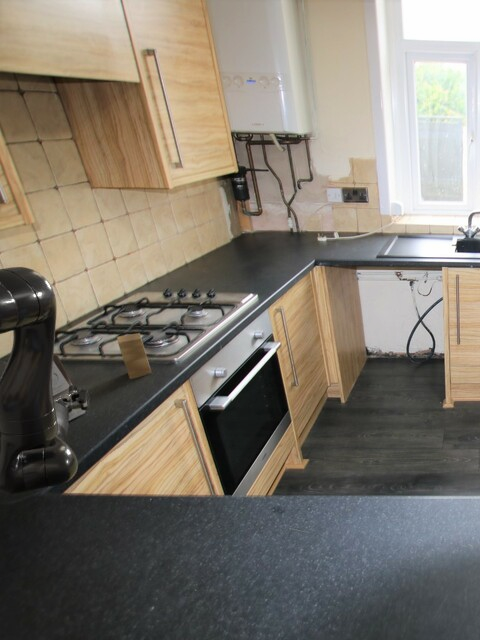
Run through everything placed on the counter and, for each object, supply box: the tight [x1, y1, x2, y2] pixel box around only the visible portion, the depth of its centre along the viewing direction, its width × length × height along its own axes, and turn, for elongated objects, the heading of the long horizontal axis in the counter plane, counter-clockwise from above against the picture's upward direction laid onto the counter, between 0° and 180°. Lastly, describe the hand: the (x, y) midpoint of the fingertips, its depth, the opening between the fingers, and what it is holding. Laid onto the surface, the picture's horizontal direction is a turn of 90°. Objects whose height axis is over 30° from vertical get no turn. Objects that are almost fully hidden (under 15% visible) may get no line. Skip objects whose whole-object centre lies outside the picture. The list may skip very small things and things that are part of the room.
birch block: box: [116, 332, 152, 380], centre depth 131 cm, size 5×5×12 cm
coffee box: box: [2, 353, 86, 422], centre depth 110 cm, size 9×6×16 cm
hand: (47, 394), depth 106 cm, fingers open, 8 cm apart
